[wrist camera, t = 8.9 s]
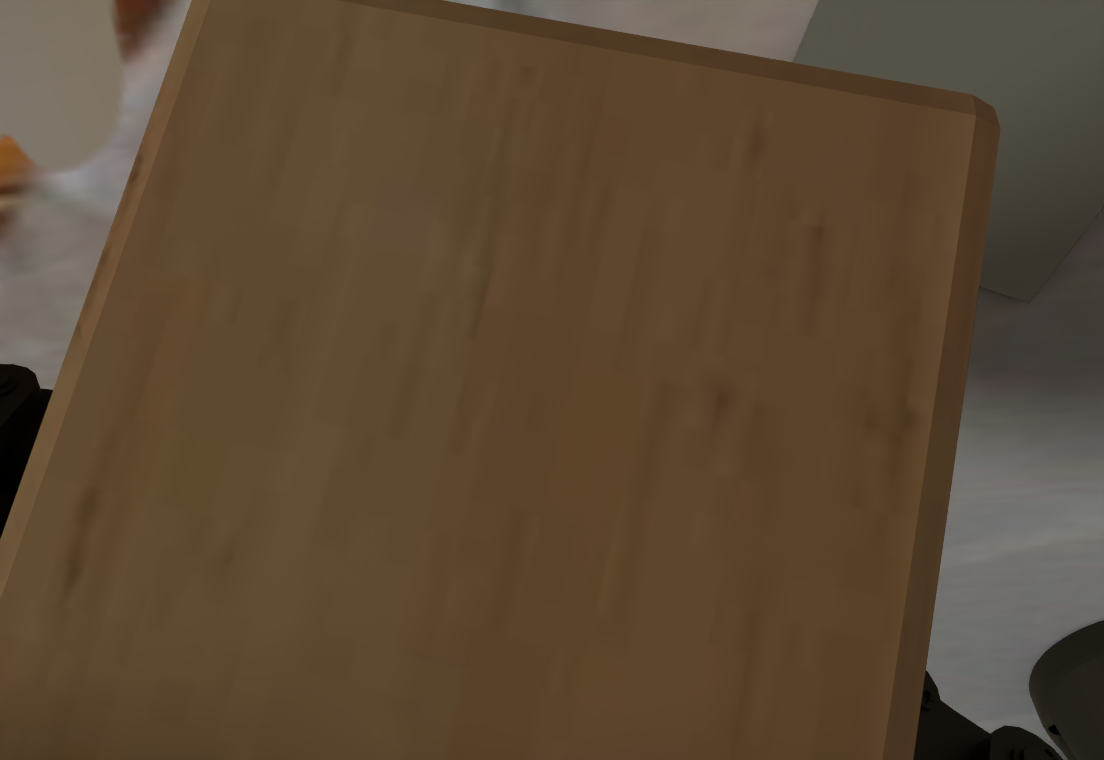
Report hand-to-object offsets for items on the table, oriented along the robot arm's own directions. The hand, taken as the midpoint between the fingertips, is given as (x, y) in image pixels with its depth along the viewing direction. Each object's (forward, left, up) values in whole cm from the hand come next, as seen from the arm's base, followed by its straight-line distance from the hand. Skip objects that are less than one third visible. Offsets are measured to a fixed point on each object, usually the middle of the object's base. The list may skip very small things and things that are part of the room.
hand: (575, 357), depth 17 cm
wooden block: (-1, +9, -6) cm, 11 cm away
